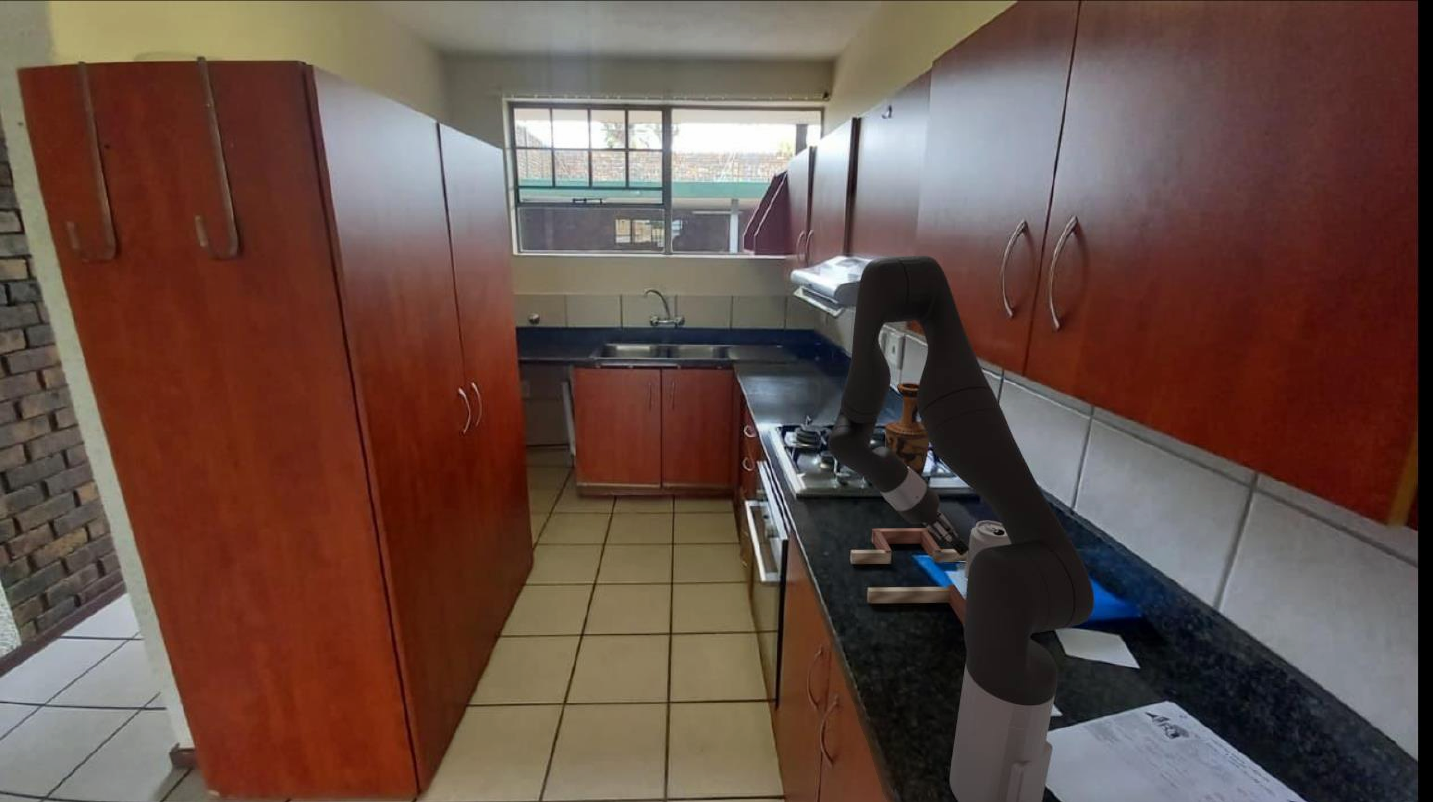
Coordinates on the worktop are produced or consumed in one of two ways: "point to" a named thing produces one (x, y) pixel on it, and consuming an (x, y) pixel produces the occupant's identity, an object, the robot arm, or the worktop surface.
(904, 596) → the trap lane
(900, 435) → the vase
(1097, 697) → the worktop surface
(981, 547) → the can
